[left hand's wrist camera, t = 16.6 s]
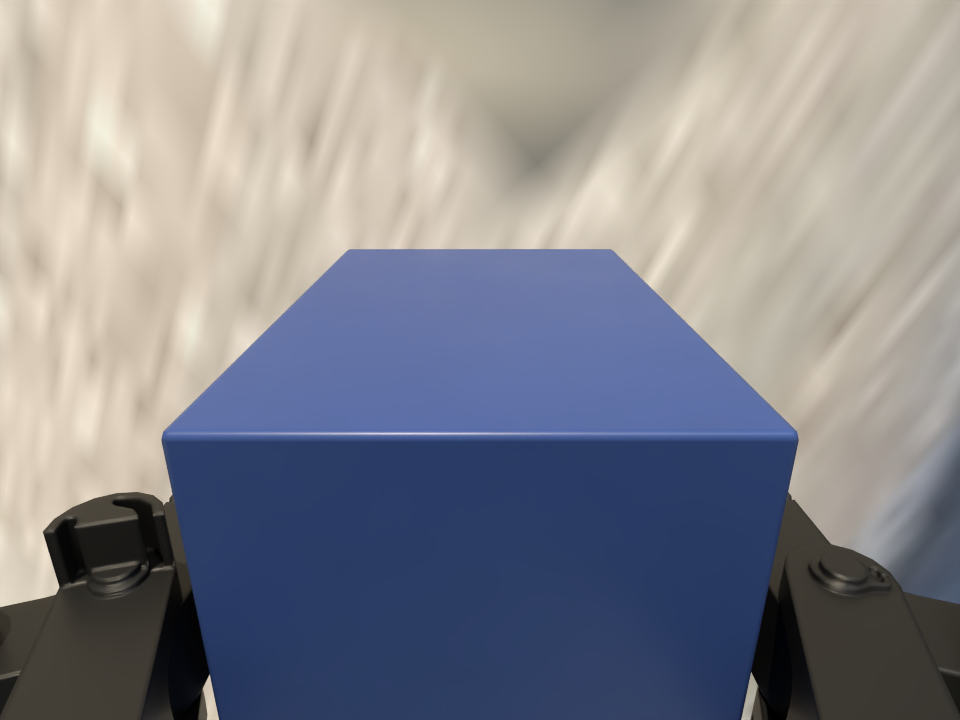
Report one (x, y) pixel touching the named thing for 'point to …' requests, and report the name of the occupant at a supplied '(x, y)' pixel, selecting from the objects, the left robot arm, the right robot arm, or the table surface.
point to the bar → (480, 499)
